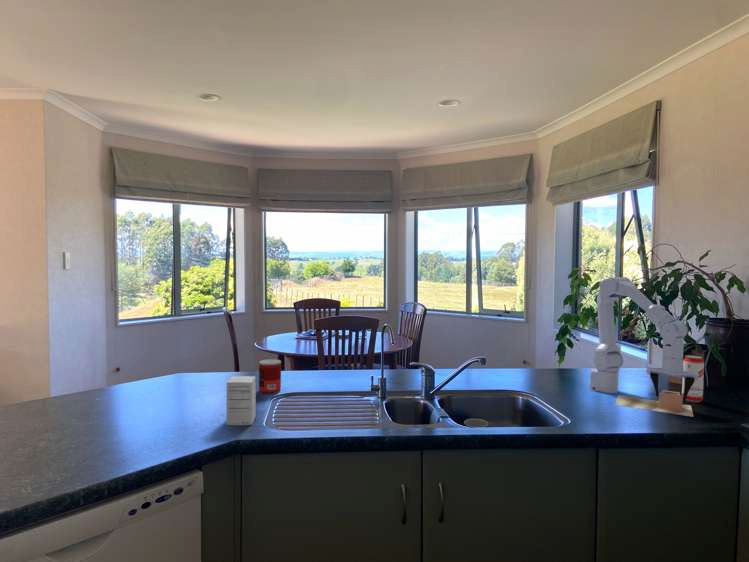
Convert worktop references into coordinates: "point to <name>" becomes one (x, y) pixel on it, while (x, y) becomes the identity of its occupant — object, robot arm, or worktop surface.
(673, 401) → the tan boxy piece
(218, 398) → the worktop surface
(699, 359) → the beer can
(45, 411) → the worktop surface
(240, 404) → the supplement box
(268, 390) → the canned food
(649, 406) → the board
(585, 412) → the worktop surface
